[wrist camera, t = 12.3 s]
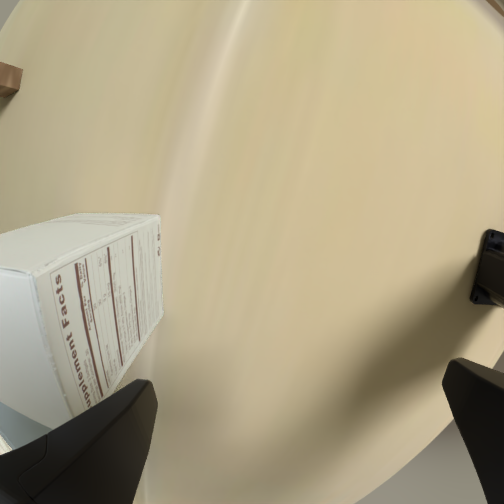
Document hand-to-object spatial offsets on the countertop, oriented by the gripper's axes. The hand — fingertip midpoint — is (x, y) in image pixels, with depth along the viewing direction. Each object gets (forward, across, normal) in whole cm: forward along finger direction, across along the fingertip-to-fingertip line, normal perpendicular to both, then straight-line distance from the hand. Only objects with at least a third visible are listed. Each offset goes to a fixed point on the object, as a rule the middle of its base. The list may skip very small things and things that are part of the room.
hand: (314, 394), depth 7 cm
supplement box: (+12, +12, 0) cm, 17 cm away
